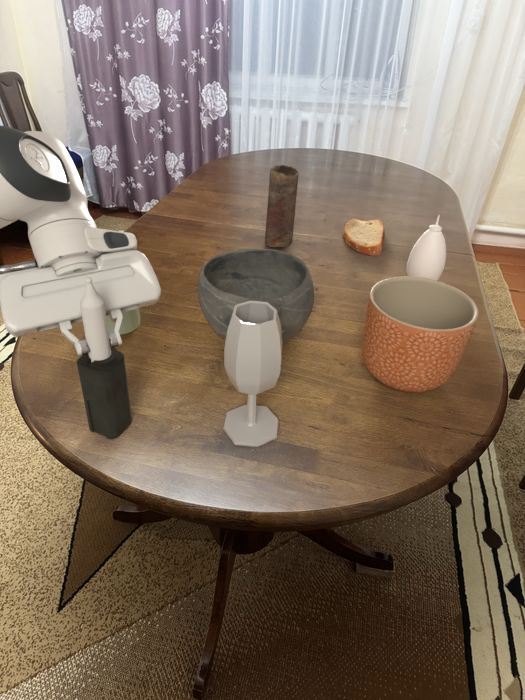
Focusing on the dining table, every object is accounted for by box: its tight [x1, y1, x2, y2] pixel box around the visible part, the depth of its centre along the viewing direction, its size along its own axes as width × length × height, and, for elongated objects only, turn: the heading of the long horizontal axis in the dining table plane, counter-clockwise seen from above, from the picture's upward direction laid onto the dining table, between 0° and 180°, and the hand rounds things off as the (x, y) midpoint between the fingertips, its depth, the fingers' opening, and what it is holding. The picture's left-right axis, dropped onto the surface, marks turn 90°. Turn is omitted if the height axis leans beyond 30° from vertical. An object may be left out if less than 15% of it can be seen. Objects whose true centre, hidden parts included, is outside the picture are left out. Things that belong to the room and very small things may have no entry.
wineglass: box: [222, 301, 284, 448], centre depth 66 cm, size 9×9×21 cm
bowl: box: [197, 248, 315, 344], centre depth 87 cm, size 21×21×15 cm
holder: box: [106, 308, 142, 336], centre depth 92 cm, size 8×8×6 cm
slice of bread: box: [342, 218, 386, 257], centre depth 131 cm, size 18×18×4 cm
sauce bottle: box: [405, 214, 447, 281], centre depth 104 cm, size 8×8×18 cm
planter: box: [361, 275, 480, 393], centre depth 79 cm, size 17×17×15 cm
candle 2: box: [264, 164, 300, 249], centre depth 120 cm, size 8×7×20 cm
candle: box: [76, 277, 133, 440], centre depth 64 cm, size 5×5×25 cm
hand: (100, 350), depth 62 cm, fingers closed on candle, 3 cm apart
